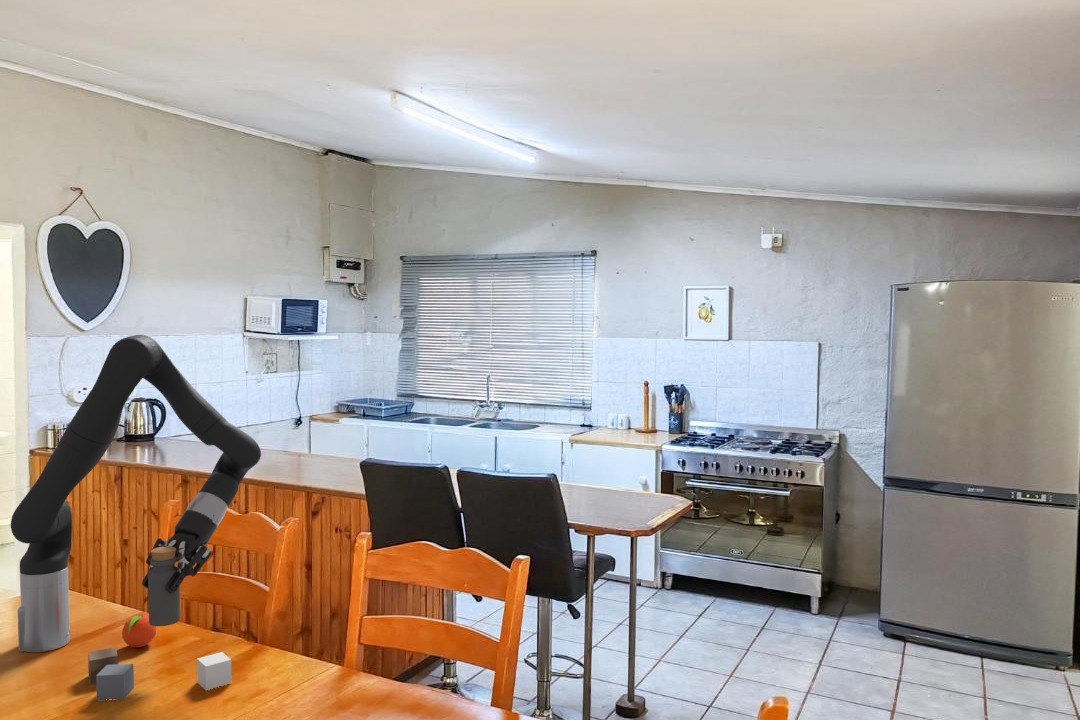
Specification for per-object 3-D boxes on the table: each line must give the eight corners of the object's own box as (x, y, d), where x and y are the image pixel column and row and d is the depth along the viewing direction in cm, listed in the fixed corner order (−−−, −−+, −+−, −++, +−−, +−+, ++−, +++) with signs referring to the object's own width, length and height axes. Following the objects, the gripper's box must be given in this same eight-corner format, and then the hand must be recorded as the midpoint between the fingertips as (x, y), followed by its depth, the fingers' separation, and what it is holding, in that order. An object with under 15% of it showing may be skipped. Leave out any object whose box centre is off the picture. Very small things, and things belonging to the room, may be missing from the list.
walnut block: (90, 685, 164) (89, 660, 164) (88, 676, 169) (88, 652, 168) (118, 679, 167) (117, 655, 167) (115, 670, 171) (115, 647, 171)
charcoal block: (96, 701, 158) (96, 675, 157) (107, 689, 163) (106, 664, 162) (124, 700, 158) (123, 674, 158) (133, 688, 163) (133, 663, 163)
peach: (144, 654, 179) (144, 622, 179) (113, 654, 179) (112, 622, 179) (162, 640, 187) (161, 609, 187) (132, 640, 187) (131, 609, 187)
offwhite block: (206, 691, 162) (205, 666, 162) (197, 682, 166) (197, 658, 165) (231, 684, 165) (231, 659, 165) (222, 675, 169) (222, 651, 169)
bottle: (168, 627, 166) (167, 554, 165) (142, 625, 167) (141, 552, 166) (186, 617, 171) (185, 546, 170) (161, 615, 172) (160, 544, 172)
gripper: (167, 505, 178) (120, 575, 167) (217, 512, 172) (172, 585, 162) (186, 524, 183) (142, 593, 172) (236, 531, 177) (194, 603, 167)
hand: (157, 589), depth 167 cm, fingers closed on bottle, 5 cm apart
